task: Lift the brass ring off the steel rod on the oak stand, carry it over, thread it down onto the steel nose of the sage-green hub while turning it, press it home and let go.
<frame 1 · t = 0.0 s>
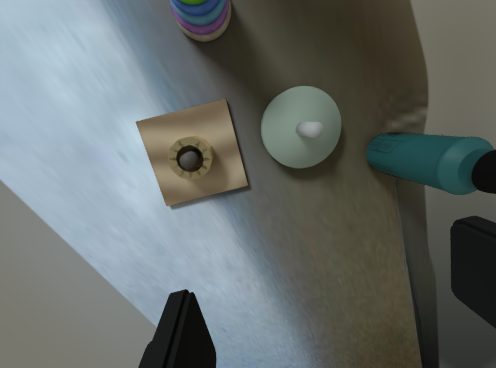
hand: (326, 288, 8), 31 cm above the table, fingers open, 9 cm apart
beverage bottle: (377, 150, 39), on the table
oak stand: (195, 154, 38), on the table
stacking toy: (203, 12, 33), on the table
brass ring: (194, 155, 37), point 1 cm above the table, touching oak stand
sage hub: (296, 128, 37), on the table
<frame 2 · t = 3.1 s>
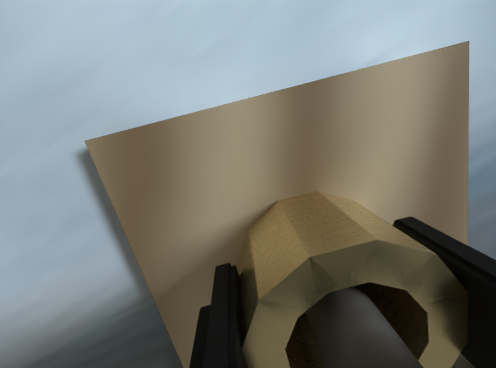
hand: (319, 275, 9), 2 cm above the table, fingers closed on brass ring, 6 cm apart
oak stand: (303, 247, 11), on the table
brass ring: (310, 259, 10), point 1 cm above the table, touching gripper, oak stand
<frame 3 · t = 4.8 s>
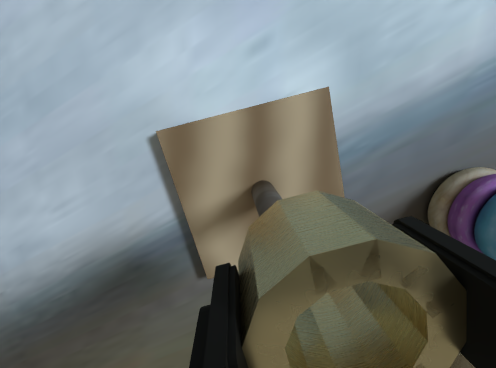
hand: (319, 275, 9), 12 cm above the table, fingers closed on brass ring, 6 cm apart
oak stand: (261, 188, 21), on the table
stacking toy: (458, 203, 23), on the table
brass ring: (309, 259, 10), point 11 cm above the table, touching gripper
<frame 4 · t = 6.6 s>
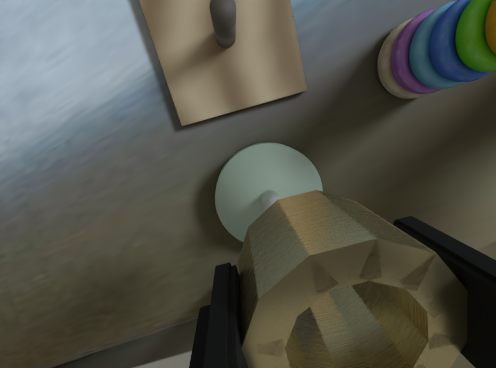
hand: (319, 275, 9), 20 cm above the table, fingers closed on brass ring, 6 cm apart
oak stand: (225, 40, 24), on the table
stacking toy: (407, 62, 26), on the table
brass ring: (309, 258, 10), point 18 cm above the table, touching gripper
sage hub: (265, 191, 28), on the table
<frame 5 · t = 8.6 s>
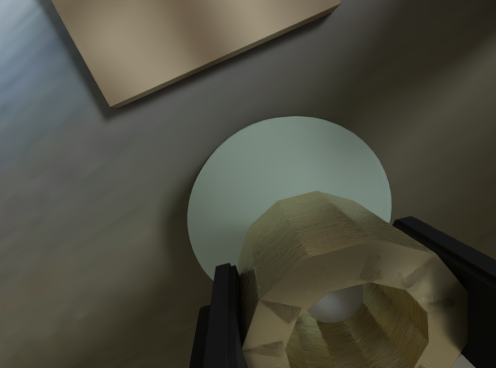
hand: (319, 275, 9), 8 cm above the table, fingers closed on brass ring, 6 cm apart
brass ring: (310, 259, 10), point 7 cm above the table, touching gripper
sage hub: (281, 205, 16), on the table
when the fingers open (4 cm above the table, at t = 10.1 s): brass ring stays where it is, resting on sage hub.
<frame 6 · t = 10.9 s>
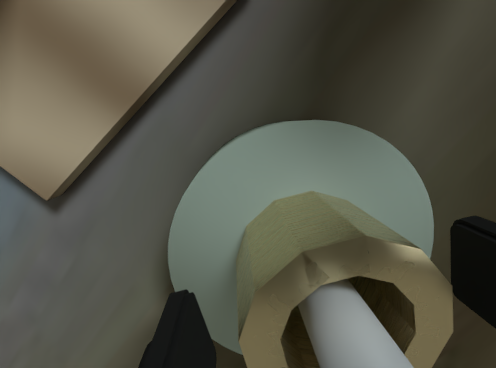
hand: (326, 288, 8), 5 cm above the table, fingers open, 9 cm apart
brass ring: (305, 257, 10), point 3 cm above the table, touching sage hub
sage hub: (288, 229, 13), on the table
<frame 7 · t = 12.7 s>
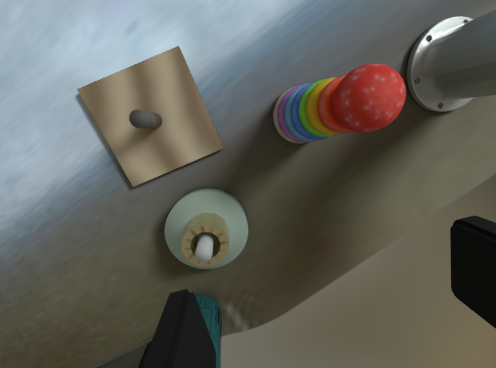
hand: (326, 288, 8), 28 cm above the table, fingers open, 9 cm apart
beverage bottle: (203, 302, 40), on the table
oak stand: (156, 120, 32), on the table
stacking toy: (298, 115, 34), on the table
brass ring: (207, 232, 34), point 3 cm above the table, touching sage hub
sage hub: (208, 224, 36), on the table
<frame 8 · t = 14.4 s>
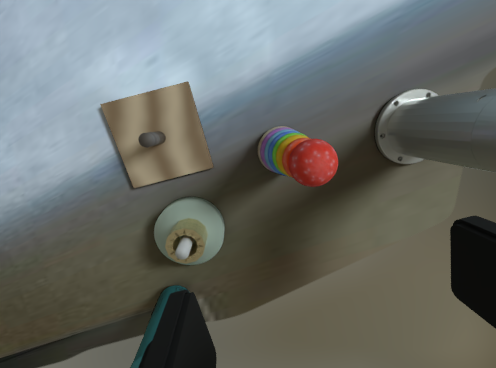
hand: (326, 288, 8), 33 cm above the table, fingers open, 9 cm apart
beverage bottle: (178, 292, 47), on the table
oak stand: (161, 137, 39), on the table
stacking toy: (279, 149, 41), on the table
brass ring: (189, 234, 40), point 3 cm above the table, touching sage hub
sage hub: (192, 227, 43), on the table
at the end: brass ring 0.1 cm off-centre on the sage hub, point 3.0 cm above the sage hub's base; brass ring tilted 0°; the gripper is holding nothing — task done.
